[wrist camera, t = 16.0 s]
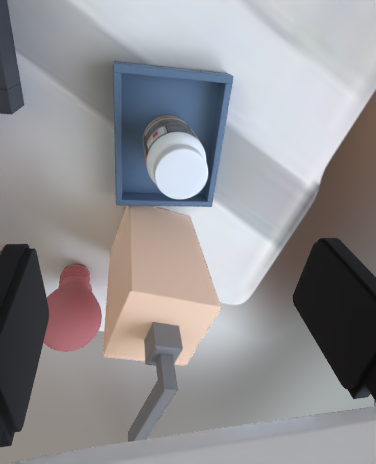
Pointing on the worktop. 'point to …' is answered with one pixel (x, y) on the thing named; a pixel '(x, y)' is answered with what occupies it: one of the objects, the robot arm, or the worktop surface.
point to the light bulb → (72, 311)
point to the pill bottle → (174, 157)
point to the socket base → (8, 66)
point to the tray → (162, 104)
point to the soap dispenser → (157, 301)
